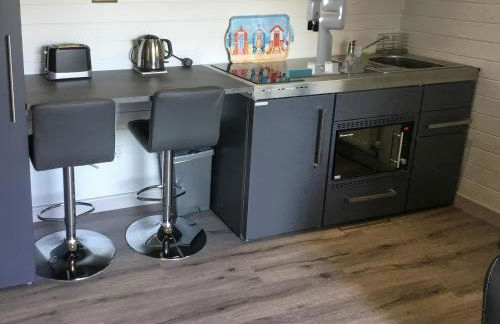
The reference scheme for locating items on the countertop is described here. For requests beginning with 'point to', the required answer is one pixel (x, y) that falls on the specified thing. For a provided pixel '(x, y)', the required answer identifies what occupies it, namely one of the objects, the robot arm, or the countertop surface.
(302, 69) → the teal rectangular stick
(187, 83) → the countertop surface
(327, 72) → the display cradle
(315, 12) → the robot arm
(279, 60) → the countertop surface
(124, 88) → the countertop surface
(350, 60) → the grey irregular blocky piece
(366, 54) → the plant pot
